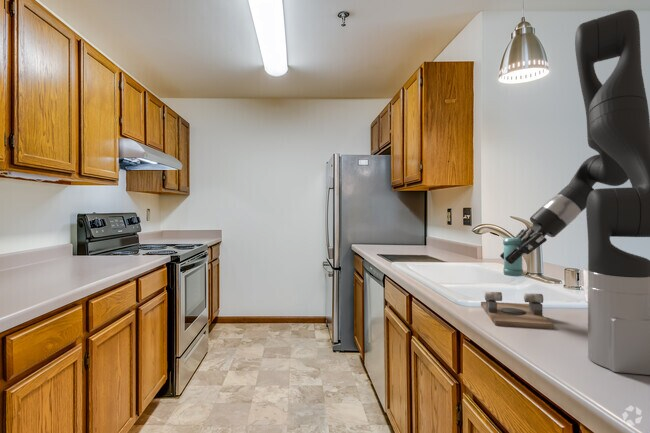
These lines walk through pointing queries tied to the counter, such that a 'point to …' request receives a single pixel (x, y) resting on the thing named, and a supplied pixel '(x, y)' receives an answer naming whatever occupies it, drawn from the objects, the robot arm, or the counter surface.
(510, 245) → the cylinder
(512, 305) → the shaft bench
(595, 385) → the counter surface
